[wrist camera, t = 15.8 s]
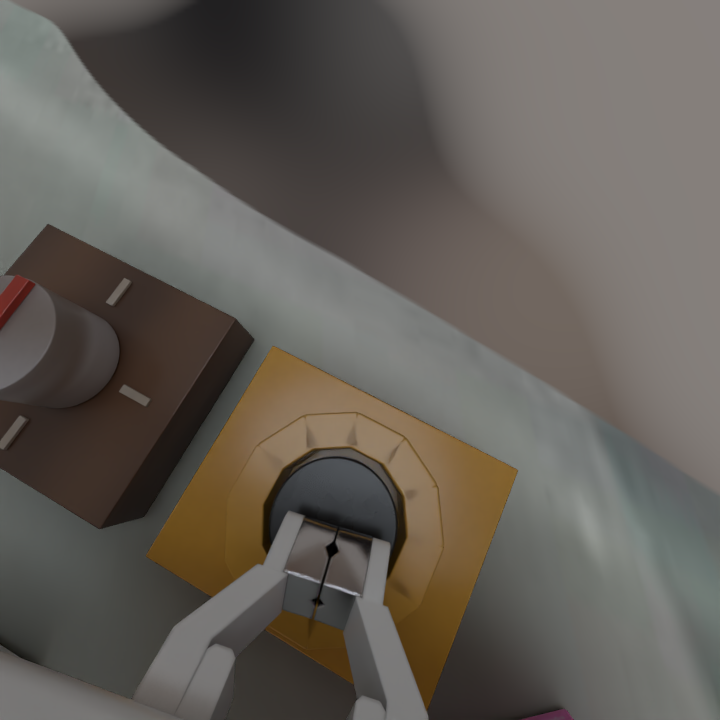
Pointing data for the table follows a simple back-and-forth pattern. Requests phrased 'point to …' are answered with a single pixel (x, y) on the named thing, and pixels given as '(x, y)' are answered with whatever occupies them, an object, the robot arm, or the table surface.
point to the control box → (390, 462)
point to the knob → (51, 347)
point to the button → (338, 499)
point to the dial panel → (120, 385)
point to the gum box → (552, 716)
